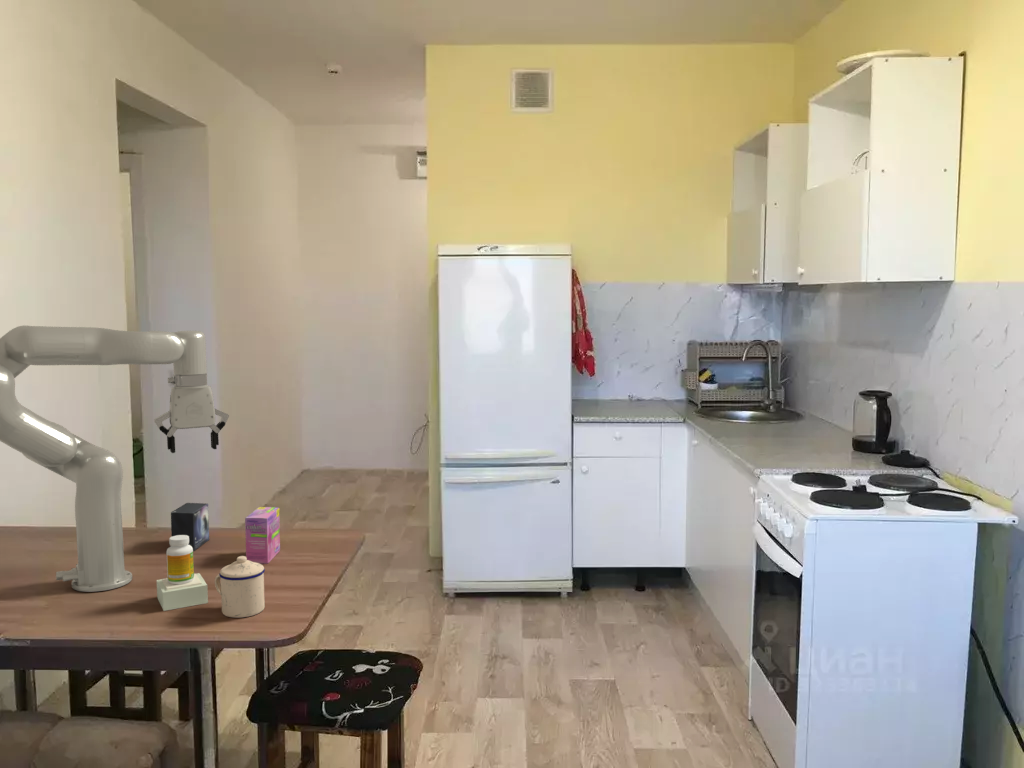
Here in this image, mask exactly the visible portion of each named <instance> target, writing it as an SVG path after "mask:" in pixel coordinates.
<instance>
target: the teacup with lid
mask: <svg viewBox="0 0 1024 768" xmlns="http://www.w3.org/2000/svg"><path fill="white" fill-rule="evenodd" d="M265 571H266V570H265V567H264V564H259V563H256V562H252V561H249V560H247V558H246V555H240V556H237V558H236V561H234V562H232V563H231V564H228V565H225V566H223V567H222V568H221V569H220V571H219V573H218V574H217V575H216V576H215V578H214V587H215V589H216V591H217V593H218V594H219V595H220V596H221V613H222V615H224V616H225V617H229V618H238V619H239V618H248V617H252V616H255V615H259V614H260V613H262V612H263V611H264V609H265V605H266V604H265V603H266V602H265Z"/></svg>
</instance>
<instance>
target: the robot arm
mask: <svg viewBox="0 0 1024 768" xmlns="http://www.w3.org/2000/svg"><path fill="white" fill-rule="evenodd" d="M206 344H207V343H206V336H205V333H204V332H203V331H201V330H177V331H176V332H175V331H172V332H171V331H164V330H147V331H134V330H133V331H132V330H130V331H129V330H118V329H117V330H116V329H110V328H104V327H91V326H90V327H86V326H84V327H83V326H81V327H80V326H79V327H77V326H46V325H45V326H39V325H18V326H16V327H13V328H11V329H10V330H9V331H7V332H6V333H5V334H3V335H2V336H1V337H0V442H1V443H3V444H5V445H6V446H8V447H10V448H11V449H14V450H16V451H18V452H19V453H21V454H22V455H23V456H24V457H25V458H26V459H28V460H30V461H32V462H34V463H35V464H38V465H40V466H41V467H44V468H45V469H48V470H49V471H51V472H53V473H55V474H57V475H59V476H61V477H63V478H65V479H68V480H69V481H70V482H72V483H75V484H76V485H75V488H76V489H75V490H76V491H75V497H74V498H75V499H74V516H75V517H74V518H75V531H76V546H77V547H76V548H77V563H76V564H75V567H72V568H71V570H60V571H56V572H55V580H56V581H61V580H62V582H64V583H65V582H69V581H71V588H72V589H73V590H75V591H77V592H86V593H87V592H88V593H89V592H90V593H91V592H92V593H93V592H94V593H95V592H102V591H110V590H115V589H117V588H120V587H123V586H126V585H127V584H129V583H130V582H131V581H132V580H133V573H132V572H131V571H129V570H126V569H125V554H124V553H125V550H124V534H123V532H124V531H123V530H124V529H123V517H122V516H123V514H122V512H123V511H122V486H123V477H124V476H123V473H124V472H123V471H124V470H123V467H122V464H121V461H120V459H119V458H118V456H117V455H115V454H114V453H113V452H112V451H110V450H108V449H105V448H103V447H100V446H98V445H95V444H92V443H91V442H89V441H87V440H86V439H83V438H81V437H80V436H79V435H76V434H74V433H72V432H71V431H69V430H68V429H67V428H66V427H65V426H63V425H61V424H59V423H56V422H53V421H50V420H48V419H47V418H45V417H43V416H41V415H39V414H37V413H36V412H34V411H33V410H31V409H29V408H28V407H26V406H24V405H23V404H22V403H20V402H19V401H18V399H17V396H16V380H15V379H16V378H17V377H18V376H19V375H20V374H22V373H23V372H24V371H25V370H26V369H28V367H30V366H115V365H171V364H173V375H172V376H171V377H167V383H168V384H173V386H172V387H171V390H170V395H169V396H170V398H169V410H168V411H166V412H164V413H163V414H161V415H160V416H158V417H155V418H154V419H153V421H154V423H155V425H156V427H157V428H158V430H159V431H161V432H162V433H163V434H164V435H165V436H166V441H167V442H166V443H167V445H166V446H167V450H168V451H170V452H171V454H175V453H176V437H175V436H174V434H175V433H176V431H177V430H185V429H186V430H187V429H199V428H201V429H202V428H210V429H211V432H210V446H211V447H210V448H211V449H213V450H217V446H219V444H220V442H219V441H220V439H219V433H220V432H221V430H222V429H223V428H224V427H225V426H226V423H227V421H228V419H229V418H230V414H228V413H226V412H224V411H222V410H219V409H217V408H215V403H214V400H215V399H214V396H213V395H214V394H213V390H212V387H211V385H208V375H207V373H208V372H207V371H208V369H207V351H206V350H207V347H206V346H207V345H206ZM216 416H218V417H220V420H219V422H218V423H217V424H216ZM167 419H169V423H170V426H169V427H168V428H166V427H165V425H164V424H163V422H164V421H166V420H167Z"/></svg>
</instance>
